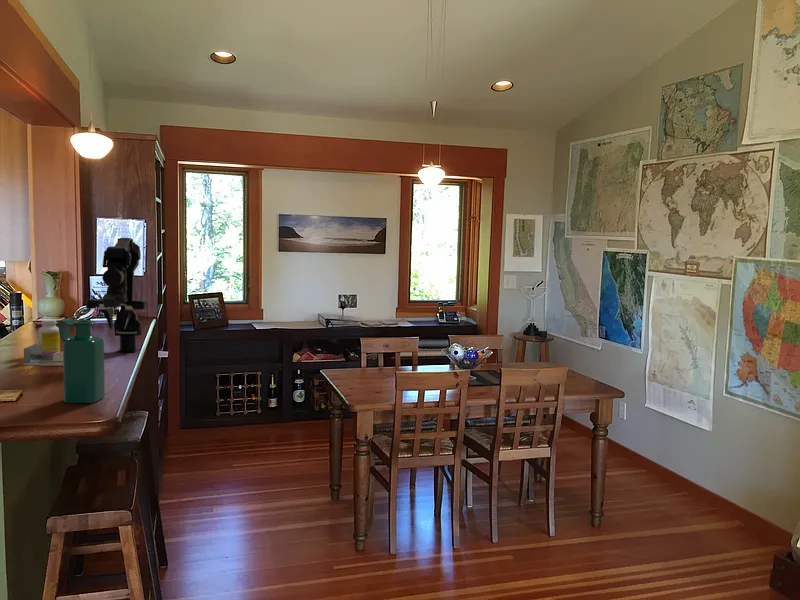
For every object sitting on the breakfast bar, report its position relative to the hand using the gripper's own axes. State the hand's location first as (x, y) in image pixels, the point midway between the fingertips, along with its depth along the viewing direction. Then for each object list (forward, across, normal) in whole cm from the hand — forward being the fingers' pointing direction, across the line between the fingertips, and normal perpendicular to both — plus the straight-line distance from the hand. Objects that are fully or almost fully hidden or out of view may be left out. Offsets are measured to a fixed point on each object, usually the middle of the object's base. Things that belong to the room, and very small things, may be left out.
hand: (117, 328), depth 214 cm
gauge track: (+12, -22, 0) cm, 25 cm away
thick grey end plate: (+11, -14, -1) cm, 18 cm away
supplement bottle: (+12, -27, +12) cm, 32 cm away
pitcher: (+12, +5, -48) cm, 50 cm away
